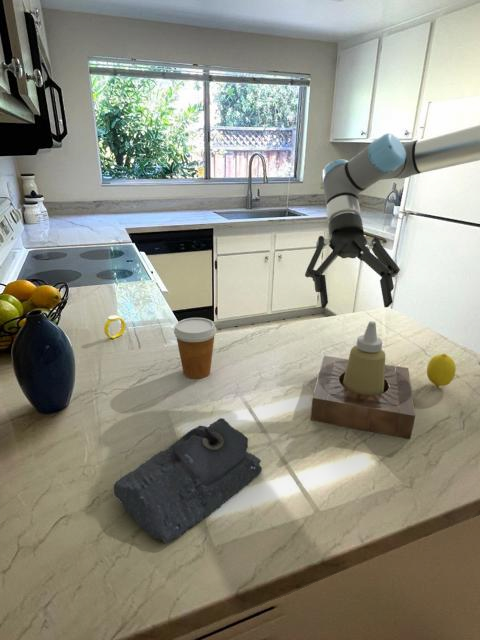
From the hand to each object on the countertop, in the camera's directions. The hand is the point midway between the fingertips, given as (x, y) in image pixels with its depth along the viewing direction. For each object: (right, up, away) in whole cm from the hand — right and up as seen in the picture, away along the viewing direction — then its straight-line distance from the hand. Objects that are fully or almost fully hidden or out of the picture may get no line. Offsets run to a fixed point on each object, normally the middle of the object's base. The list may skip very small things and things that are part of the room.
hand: (356, 305), depth 85 cm
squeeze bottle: (0, -20, -2) cm, 20 cm away
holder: (0, -20, -2) cm, 20 cm away
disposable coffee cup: (-35, -15, +9) cm, 39 cm away
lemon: (+19, -18, +5) cm, 27 cm away
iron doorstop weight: (-33, -28, -21) cm, 48 cm away
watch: (-59, -8, +27) cm, 65 cm away
